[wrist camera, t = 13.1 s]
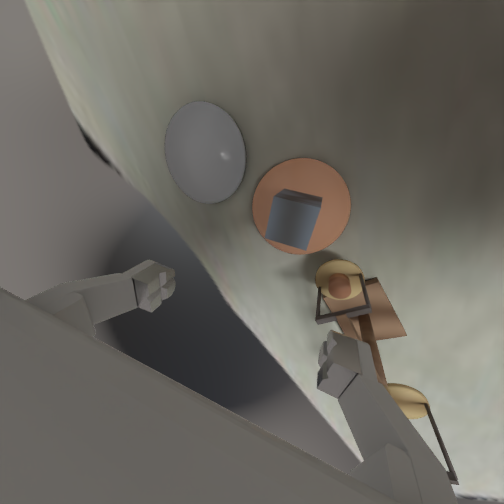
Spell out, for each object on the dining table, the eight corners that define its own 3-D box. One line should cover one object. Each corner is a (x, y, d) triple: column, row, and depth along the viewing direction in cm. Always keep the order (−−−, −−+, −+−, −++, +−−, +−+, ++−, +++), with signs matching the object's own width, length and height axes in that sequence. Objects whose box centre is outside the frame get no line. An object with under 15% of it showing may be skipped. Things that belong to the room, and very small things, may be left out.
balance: (420, 360, 31) (487, 508, 18) (366, 365, 35) (389, 489, 22) (356, 239, 26) (384, 319, 13) (303, 261, 30) (285, 339, 17)
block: (322, 197, 24) (320, 207, 19) (310, 233, 27) (306, 250, 22) (284, 188, 26) (273, 196, 20) (276, 223, 28) (264, 238, 23)
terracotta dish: (368, 169, 23) (370, 170, 22) (328, 261, 29) (328, 265, 28) (264, 149, 26) (261, 148, 24) (248, 237, 32) (246, 239, 31)
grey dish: (255, 110, 24) (251, 108, 23) (241, 210, 30) (238, 212, 29) (168, 97, 27) (161, 95, 26) (171, 191, 33) (167, 192, 32)
